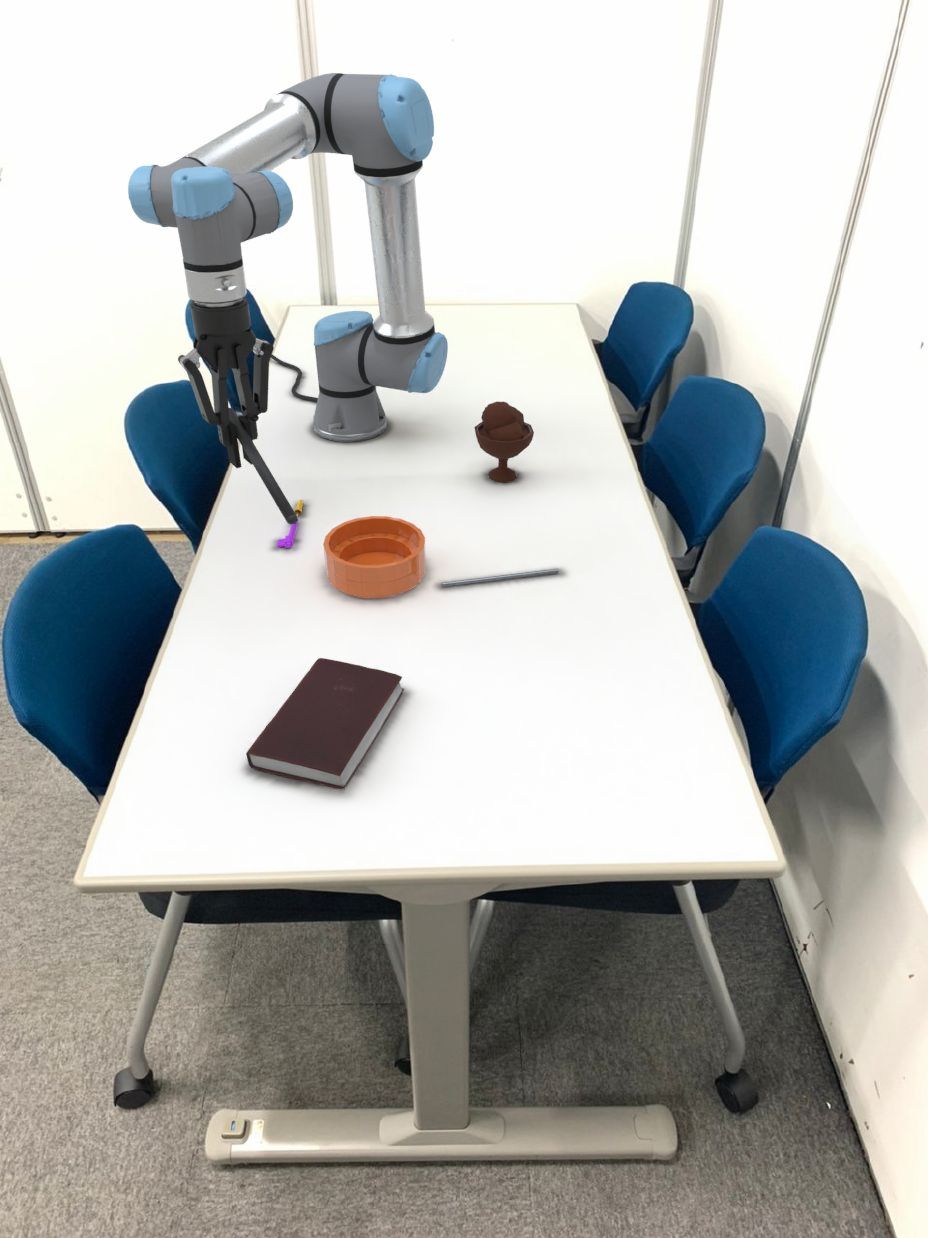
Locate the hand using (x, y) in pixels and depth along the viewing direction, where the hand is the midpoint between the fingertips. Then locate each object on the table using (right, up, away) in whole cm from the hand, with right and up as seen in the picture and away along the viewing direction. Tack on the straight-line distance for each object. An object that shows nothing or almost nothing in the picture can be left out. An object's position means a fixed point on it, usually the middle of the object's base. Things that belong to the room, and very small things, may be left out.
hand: (242, 462), depth 131 cm
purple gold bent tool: (+3, -7, +23) cm, 24 cm away
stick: (+4, -1, -6) cm, 7 cm away
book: (+16, -37, -19) cm, 44 cm away
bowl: (+19, -16, +10) cm, 27 cm away
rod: (+38, -17, +9) cm, 43 cm away
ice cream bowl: (+40, +4, +38) cm, 56 cm away
